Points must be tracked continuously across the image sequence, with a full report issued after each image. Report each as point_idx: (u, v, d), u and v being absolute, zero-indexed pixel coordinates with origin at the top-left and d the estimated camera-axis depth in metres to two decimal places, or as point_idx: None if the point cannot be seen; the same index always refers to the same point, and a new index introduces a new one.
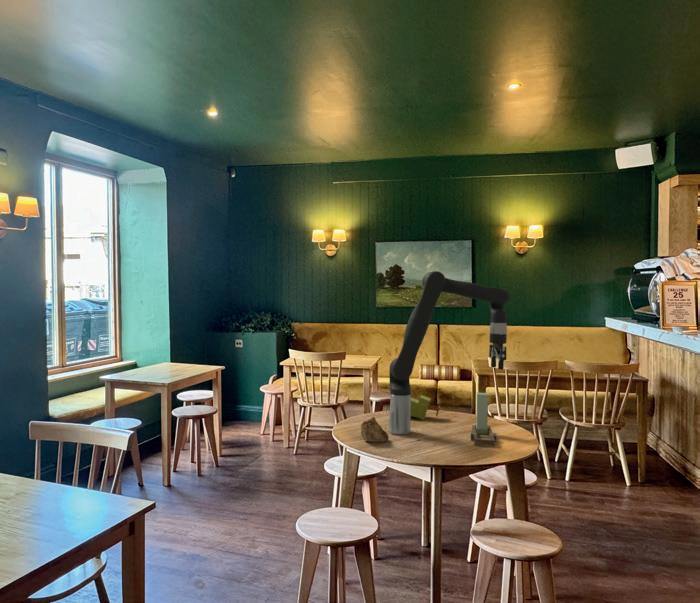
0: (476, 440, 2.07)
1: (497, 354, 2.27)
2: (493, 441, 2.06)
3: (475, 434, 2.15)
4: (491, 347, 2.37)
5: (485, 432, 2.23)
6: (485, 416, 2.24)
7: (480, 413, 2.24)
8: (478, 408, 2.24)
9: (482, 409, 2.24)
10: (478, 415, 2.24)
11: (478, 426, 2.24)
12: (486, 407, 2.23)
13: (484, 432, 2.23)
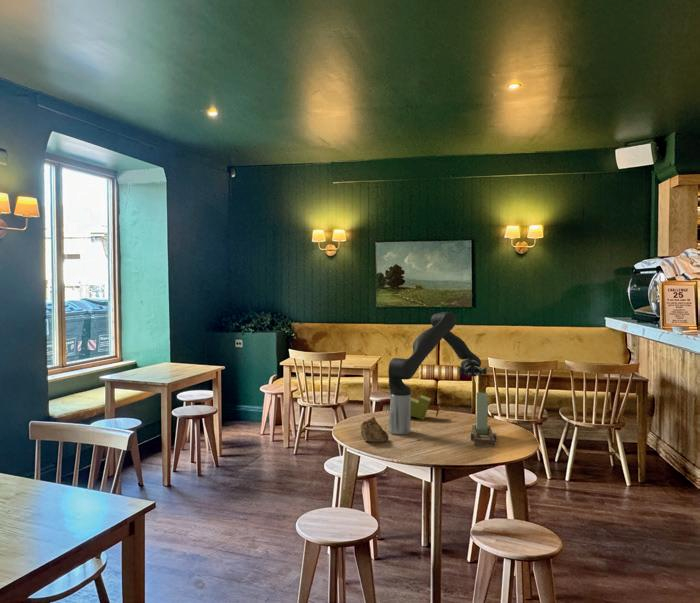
0: (476, 440, 2.07)
1: (479, 367, 2.42)
2: (493, 441, 2.06)
3: (475, 434, 2.15)
4: (461, 368, 2.46)
5: (485, 432, 2.23)
6: (485, 416, 2.24)
7: (480, 413, 2.24)
8: (478, 408, 2.24)
9: (482, 409, 2.24)
10: (478, 415, 2.24)
11: (478, 426, 2.24)
12: (486, 407, 2.23)
13: (484, 432, 2.23)
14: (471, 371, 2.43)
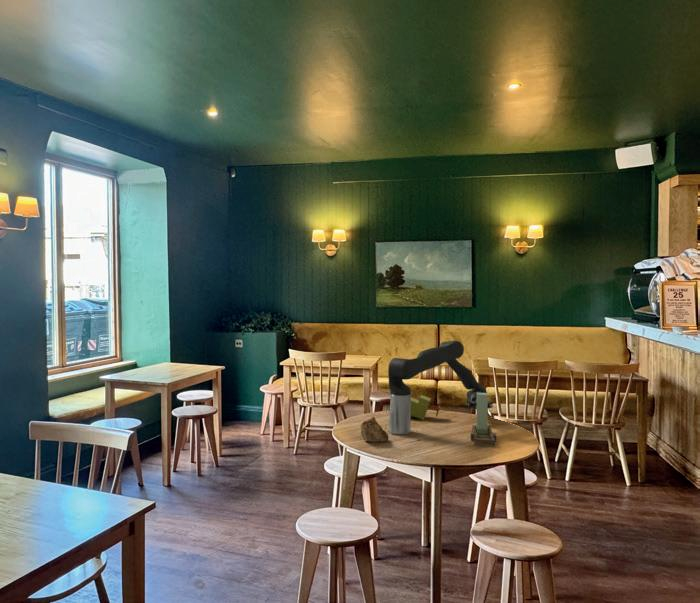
0: (476, 440, 2.07)
1: None
2: (493, 441, 2.06)
3: (475, 434, 2.15)
4: None
5: (485, 432, 2.23)
6: (485, 416, 2.24)
7: (480, 413, 2.24)
8: (478, 408, 2.24)
9: (482, 409, 2.24)
10: (478, 415, 2.24)
11: (478, 426, 2.24)
12: (486, 407, 2.23)
13: (484, 432, 2.23)
14: None
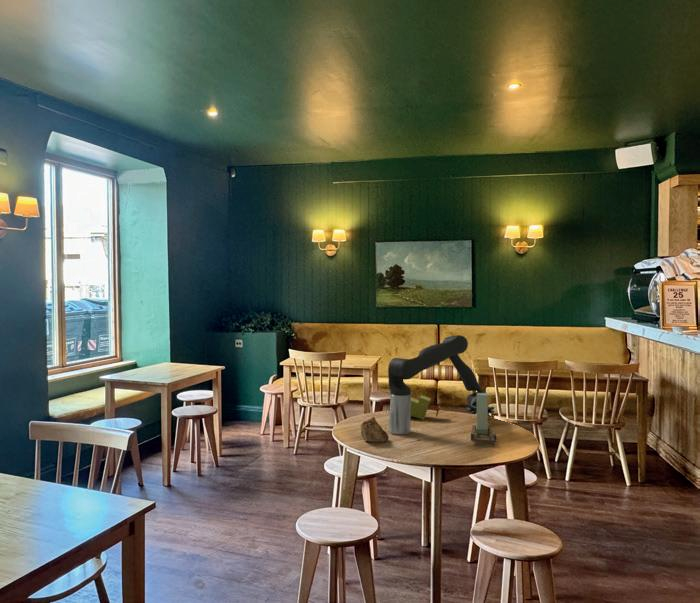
0: (476, 440, 2.07)
1: None
2: (493, 441, 2.06)
3: (475, 434, 2.15)
4: None
5: (485, 432, 2.22)
6: (485, 416, 2.23)
7: (480, 413, 2.23)
8: (478, 408, 2.23)
9: (482, 409, 2.23)
10: (478, 415, 2.23)
11: (478, 426, 2.23)
12: (486, 407, 2.23)
13: (484, 432, 2.22)
14: None
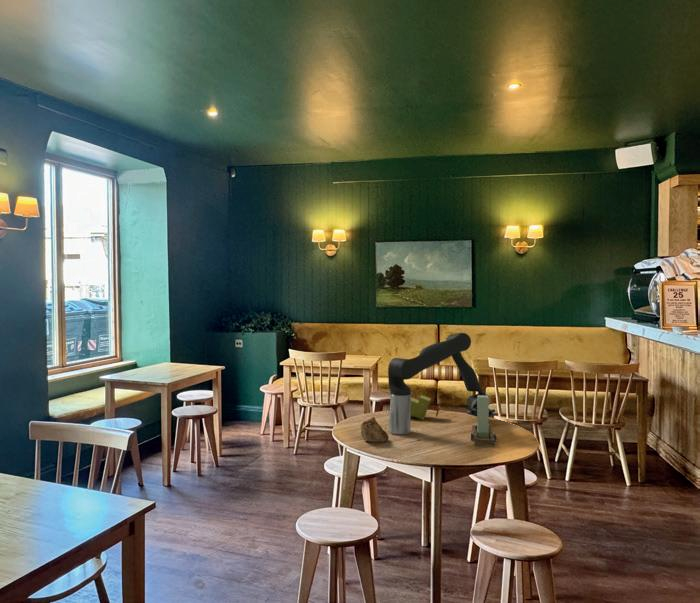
0: (476, 440, 2.07)
1: None
2: (493, 441, 2.06)
3: (475, 434, 2.15)
4: None
5: (486, 436, 2.17)
6: (486, 419, 2.17)
7: (481, 416, 2.18)
8: (479, 411, 2.18)
9: (483, 412, 2.17)
10: (479, 418, 2.18)
11: (479, 430, 2.18)
12: (487, 410, 2.17)
13: (485, 436, 2.17)
14: None
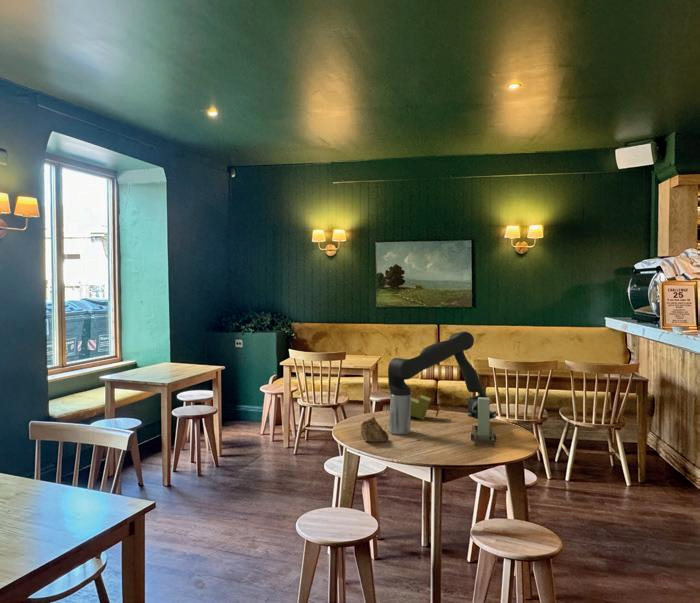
0: (476, 440, 2.07)
1: None
2: (493, 441, 2.06)
3: (475, 434, 2.15)
4: None
5: (487, 439, 2.12)
6: (487, 422, 2.13)
7: (481, 419, 2.13)
8: (479, 413, 2.13)
9: (484, 415, 2.13)
10: (479, 421, 2.13)
11: (479, 432, 2.13)
12: (488, 412, 2.13)
13: (486, 439, 2.12)
14: None
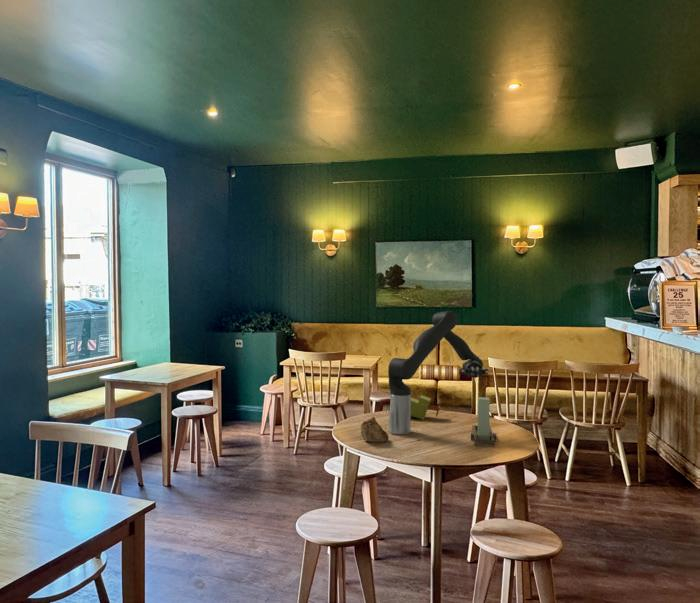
0: (476, 440, 2.07)
1: (478, 368, 2.39)
2: (493, 441, 2.06)
3: (475, 434, 2.15)
4: None
5: (487, 439, 2.12)
6: (487, 422, 2.13)
7: (481, 419, 2.13)
8: (479, 413, 2.13)
9: (484, 415, 2.13)
10: (479, 421, 2.13)
11: (479, 432, 2.13)
12: (488, 412, 2.13)
13: (486, 439, 2.12)
14: None
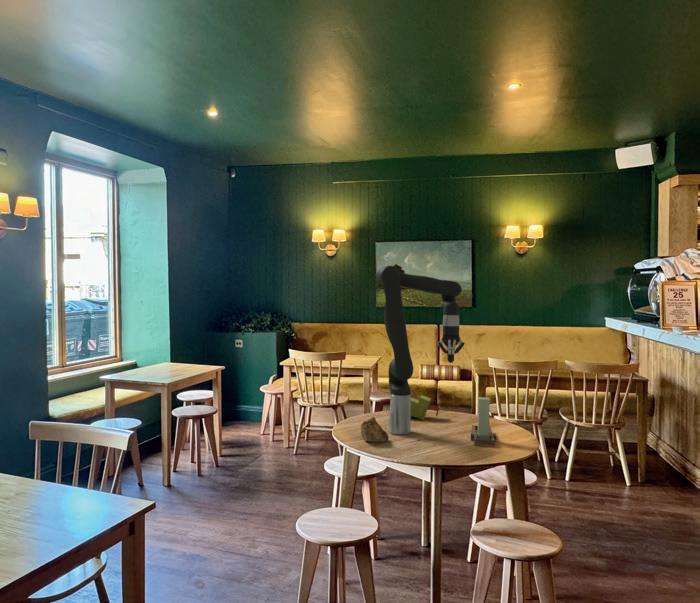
0: (476, 440, 2.07)
1: None
2: (493, 441, 2.06)
3: (475, 434, 2.15)
4: (441, 343, 2.33)
5: (487, 439, 2.12)
6: (487, 422, 2.13)
7: (481, 419, 2.13)
8: (479, 413, 2.13)
9: (484, 415, 2.13)
10: (479, 421, 2.13)
11: (479, 432, 2.13)
12: (488, 412, 2.13)
13: (486, 439, 2.12)
14: None
